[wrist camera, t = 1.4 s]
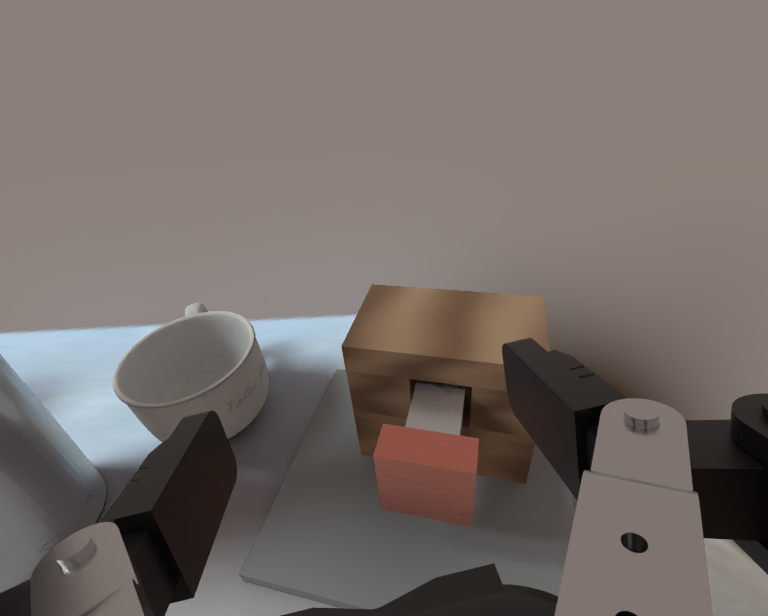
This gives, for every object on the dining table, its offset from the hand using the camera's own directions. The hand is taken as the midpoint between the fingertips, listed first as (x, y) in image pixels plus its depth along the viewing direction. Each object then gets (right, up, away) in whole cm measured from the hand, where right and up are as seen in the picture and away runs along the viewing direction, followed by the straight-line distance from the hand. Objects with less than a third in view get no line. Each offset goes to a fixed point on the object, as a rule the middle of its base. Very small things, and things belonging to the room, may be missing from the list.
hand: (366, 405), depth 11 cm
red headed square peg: (+4, -6, +15) cm, 16 cm away
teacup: (-15, -6, +27) cm, 31 cm away
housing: (+5, -8, +22) cm, 24 cm away
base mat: (+4, -10, +19) cm, 22 cm away
